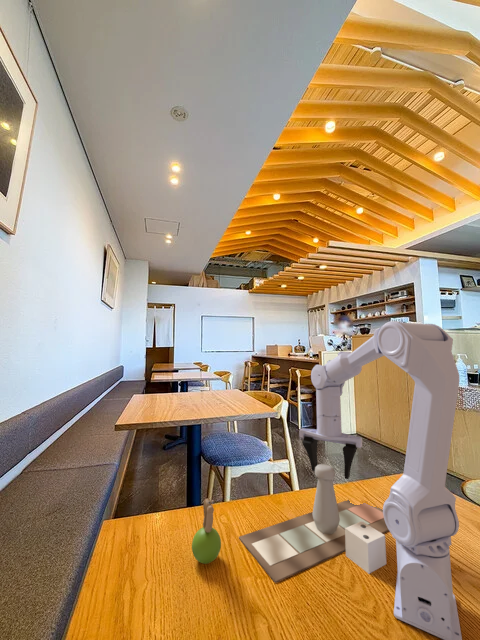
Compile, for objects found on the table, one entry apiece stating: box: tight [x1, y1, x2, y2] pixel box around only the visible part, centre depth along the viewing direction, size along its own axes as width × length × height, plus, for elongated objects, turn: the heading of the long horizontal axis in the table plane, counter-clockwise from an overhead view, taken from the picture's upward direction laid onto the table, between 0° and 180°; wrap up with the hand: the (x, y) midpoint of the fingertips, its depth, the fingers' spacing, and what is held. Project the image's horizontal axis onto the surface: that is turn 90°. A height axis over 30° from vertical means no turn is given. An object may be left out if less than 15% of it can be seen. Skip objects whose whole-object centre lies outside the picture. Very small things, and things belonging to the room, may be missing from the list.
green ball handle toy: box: [191, 498, 222, 565], centre depth 52 cm, size 5×6×12 cm
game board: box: [238, 499, 390, 584], centre depth 61 cm, size 37×13×1 cm, turn 119°
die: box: [345, 521, 387, 574], centre depth 52 cm, size 5×5×5 cm
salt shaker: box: [312, 463, 340, 534], centre depth 62 cm, size 6×6×13 cm
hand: (330, 473), depth 66 cm, fingers open, 7 cm apart
